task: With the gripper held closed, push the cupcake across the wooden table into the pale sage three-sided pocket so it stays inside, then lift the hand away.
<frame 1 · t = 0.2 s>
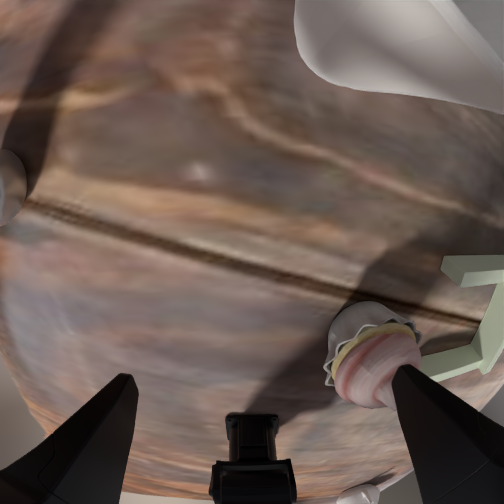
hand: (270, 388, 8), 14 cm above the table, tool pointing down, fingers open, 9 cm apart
cup: (342, 45, 15), on the table
teapot: (356, 488, 52), on the table
cupcake: (357, 326, 25), on the table
pocket: (459, 313, 25), on the table
plastic bottle: (14, 180, 18), on the table
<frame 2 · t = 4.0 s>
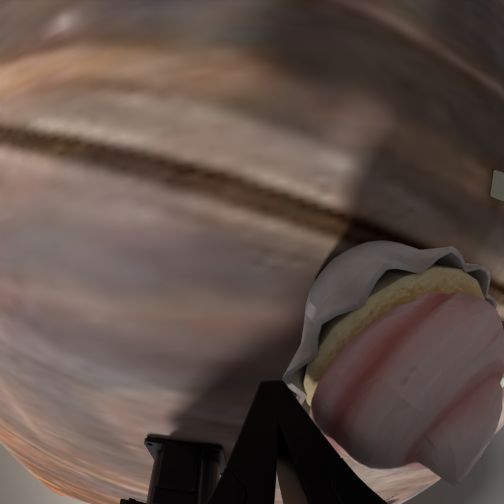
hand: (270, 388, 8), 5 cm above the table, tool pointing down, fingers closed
cupcake: (363, 298, 13), on the table, touching gripper
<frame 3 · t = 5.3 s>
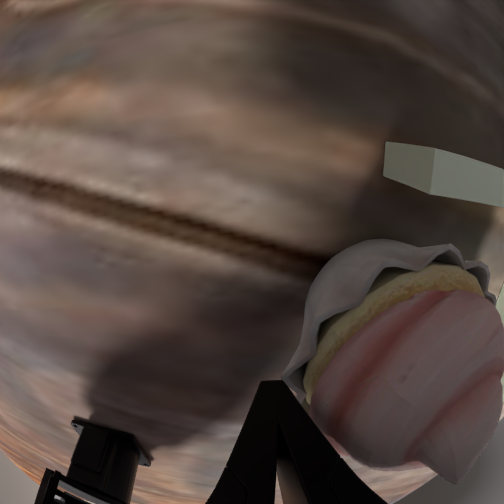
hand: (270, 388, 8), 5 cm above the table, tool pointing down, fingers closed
cupcake: (363, 296, 13), on the table, touching gripper
pocket: (448, 293, 13), on the table
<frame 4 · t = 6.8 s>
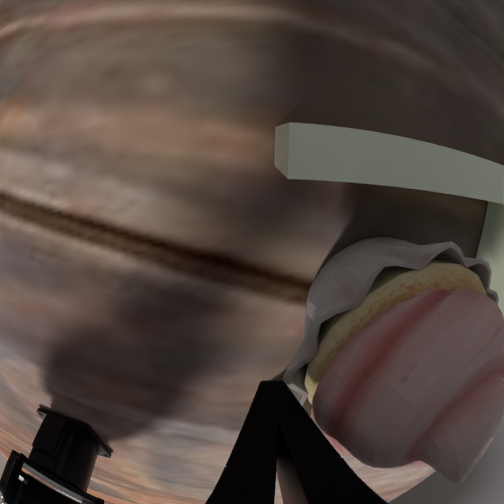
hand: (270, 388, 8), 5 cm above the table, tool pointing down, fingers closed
cupcake: (365, 295, 13), on the table, touching gripper
pocket: (386, 296, 13), on the table
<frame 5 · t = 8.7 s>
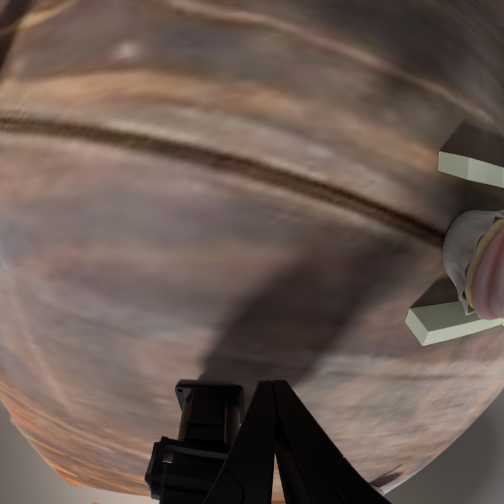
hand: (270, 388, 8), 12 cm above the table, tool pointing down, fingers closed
cupcake: (463, 243, 20), on the table
pocket: (472, 244, 19), on the table
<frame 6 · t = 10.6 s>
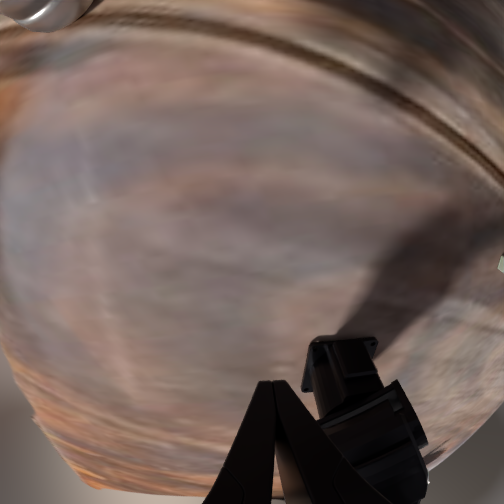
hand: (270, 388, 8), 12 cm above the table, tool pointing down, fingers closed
plastic bottle: (74, 3, 11), on the table
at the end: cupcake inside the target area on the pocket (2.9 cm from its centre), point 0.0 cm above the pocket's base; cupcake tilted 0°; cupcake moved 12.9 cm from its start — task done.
